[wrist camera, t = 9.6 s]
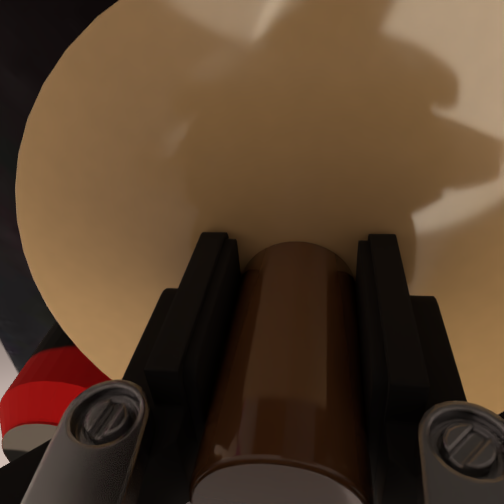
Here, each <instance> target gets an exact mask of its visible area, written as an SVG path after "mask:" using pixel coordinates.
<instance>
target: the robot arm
mask: <svg viewBox="0 0 504 504" xmlns="http://www.w3.org/2000/svg"><path fill="white" fill-rule="evenodd" d="M240 280H241V273H240V263H239V254H238V245H237V240H236V239H229V236H228V234H227V232H202V233H201V235H200V237H199V240H198V242H197V244H196V247H195V249H194V251H193V254H192V256H191V258H190V261H189V263H188V266H187V268H186V270H185V273H184V275H183V277H182V280H181V282H180V284H179V287H178V288H166V289H165V290H163V292H162V294H161V295H160V298H159V300H158V302H157V304H156V306H155V308H154V311H153V313H152V315H151V317H150V319H149V321H148V324H147V326H146V328H145V330H144V332H143V334H142V337H141V339H140V341H139V343H138V345H137V347H136V350H135V352H134V354H133V356H132V358H131V360H130V363H129V365H128V367H127V369H126V371H125V373H124V375H123V378H122V380H120V379H117V380H109V381H104V382H101V383H98V384H96V385H93V386H91V387H90V388H88V389H86V390H85V391H83V392H81V393H80V394H79V395H78V396H77V397H76V398H75V399H74V400H73V401H72V402H71V403H70V404H69V406H68V407H67V409H66V410H65V412H64V413H63V416H62V418H61V420H60V422H59V424H58V426H57V428H56V430H55V432H54V434H53V436H52V439H50V440H48V441H46V442H45V443H43V444H41V445H39V446H38V447H36V448H34V449H33V450H31V451H29V452H27V453H26V454H24V455H22V456H20V457H19V458H17V459H15V460H14V461H12V462H10V463H8V464H7V465H5V466H3V467H2V468H0V504H186V503H187V502H189V501H190V499H189V493H188V490H189V483H190V479H191V475H192V471H193V467H194V463H195V459H196V455H197V451H198V447H199V443H200V439H201V436H202V432H203V428H204V424H205V420H206V416H207V412H208V408H209V404H210V400H211V396H212V392H213V388H214V384H215V380H216V376H217V372H218V368H219V364H220V360H221V356H222V352H223V348H224V344H225V340H226V336H227V332H228V328H229V324H230V320H231V316H232V312H233V308H234V304H235V300H236V296H237V292H238V288H239V284H240ZM355 284H356V297H357V309H358V322H359V334H360V347H361V359H362V372H363V384H364V397H365V409H366V422H367V434H368V439H369V449H370V461H371V474H372V486H373V498H374V504H504V419H502V418H501V417H500V416H498V415H497V414H496V413H494V412H493V411H491V410H489V409H486V408H484V407H482V406H480V405H478V404H474V403H469V402H467V399H466V396H465V392H464V389H463V386H462V382H461V379H460V376H459V372H458V369H457V366H456V362H455V359H454V355H453V352H452V349H451V345H450V342H449V339H448V335H447V332H446V329H445V325H444V322H443V319H442V315H441V312H440V308H439V305H438V302H437V300H436V298H435V297H434V296H415V295H410V294H409V290H408V285H407V281H406V276H405V272H404V268H403V263H402V259H401V254H400V250H399V245H398V241H397V237H396V235H395V234H369V235H368V240H359V241H358V251H357V265H356V280H355Z"/></svg>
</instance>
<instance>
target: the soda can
mask: <svg viewBox="0 0 504 504" xmlns="http://www.w3.org/2000/svg"><path fill="white" fill-rule="evenodd" d="M109 380H111V379H110V378H109V377H108V376H107V375H105V374H104V373H103V372H102V371H100V370H99V369H98V368H97V367H96V366H95V365H94V364H93V363H92V362H91V361H90V360H89V359H88V358H87V357H86V356H85V355H84V354H83V353H82V352H81V351H80V350H79V349H78V347H77V346H76V345H75V344H74V343H73V341H72V340H71V339H70V338H69V337H68V335H67V334H66V333H65V332H64V331H63V329H62V328H61V326H60V325H59V323H58V322H57V320H56V322H55V323H54V324H53V326H52V327H51V329H50V330H49V332H48V333H47V334H46V336H45V337H44V339H43V340H42V342H41V343H40V344H39V346H38V347H37V349H36V350H35V352H34V353H33V354H32V356H31V357H30V359H29V360H28V362H27V363H26V364H25V366H24V367H23V369H22V370H21V372H20V373H19V374H18V376H17V377H16V379H15V380H14V381H13V383H12V384H11V386H10V387H9V389H8V390H7V391H6V393H5V395H4V396H3V397H2V399H1V402H0V423H1V431H2V438H3V439H2V449H3V452H4V454H5V456H6V457H7V459H8V460H9V462H12V461H14V460H15V459H17V458H19V457H20V456H22V455H24V454H26V453H27V452H29V451H31V450H33V449H34V448H36V447H38V446H39V445H41V444H43V443H45V442H46V441H48V440H50V439H52V436H53V434H54V432H55V430H56V428H57V426H58V424H59V422H60V420H61V418H62V416H63V413H64V412H65V410H66V409H67V407H68V406H69V404H70V403H71V402H72V401H73V400H74V399H75V398H76V397H77V396H78V395H79V394H80V393H81V392H83V391H85V390H86V389H88V388H90V387H91V386H93V385H96V384H98V383H101V382H104V381H109Z"/></svg>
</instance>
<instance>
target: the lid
mask: <svg viewBox="0 0 504 504" xmlns="http://www.w3.org/2000/svg"><path fill="white" fill-rule="evenodd" d="M15 194H16V211H17V223H18V227H19V232H20V237H21V242H22V247H23V251H24V254H25V257H26V260H27V262H28V265H29V268H30V271H31V274H32V277H33V279H34V281H35V283H36V285H37V287H38V289H39V291H40V293H41V295H42V297H43V299H44V301H45V303H46V305H47V307H48V308H49V310H50V311H51V313H52V314H53V316H54V317H55V319H56V320H57V322H58V323H59V325H60V326H61V328H62V329H63V331H64V332H65V333H66V334H67V335H68V337H69V338H70V339H71V340H72V341H73V343H74V344H75V345H76V346H77V347H78V349H79V350H80V351H81V352H82V353H83V354H84V355H85V356H86V357H87V358H88V359H89V360H90V361H91V362H92V363H93V364H94V365H95V366H96V367H97V368H98V369H99V370H100V371H102V372H103V373H104V374H105V375H107V376H108V377H109V378H110V379H111V380H117V379H120V380H122V378H123V375H124V373H125V371H126V369H127V367H128V365H129V363H130V360H131V358H132V356H133V354H134V352H135V350H136V347H137V345H138V343H139V341H140V339H141V337H142V334H143V332H144V330H145V328H146V326H147V324H148V321H149V319H150V317H151V315H152V313H153V311H154V308H155V306H156V304H157V302H158V300H159V298H160V295H161V294H162V292H163V290H165V289H166V288H178V287H179V284H180V282H181V280H182V277H183V275H184V273H185V270H186V268H187V266H188V263H189V261H190V258H191V256H192V254H193V251H194V249H195V247H196V244H197V242H198V240H199V237H200V235H201V233H202V232H227V234H228V236H229V239H236V240H237V245H238V254H239V263H240V273H241V280H240V284H239V288H238V292H237V296H236V300H235V304H234V308H233V312H232V316H231V320H230V324H229V328H228V332H227V336H226V340H225V344H224V348H223V352H222V356H221V360H220V364H219V368H218V372H217V376H216V380H215V384H214V388H213V392H212V396H211V400H210V404H209V408H208V412H207V416H206V420H205V424H204V428H203V432H202V436H201V439H200V443H199V447H198V451H197V455H196V459H195V463H194V467H193V471H192V475H191V479H190V483H189V490H188V493H189V499H190V504H374V498H373V486H372V474H371V461H370V449H369V439H368V434H367V422H366V409H365V397H364V384H363V372H362V359H361V347H360V334H359V322H358V309H357V297H356V284H355V280H356V265H357V251H358V241H359V240H368V235H369V234H395V235H396V237H397V241H398V245H399V250H400V254H401V259H402V263H403V268H404V272H405V276H406V281H407V285H408V290H409V294H410V295H415V296H434V297H435V298H436V300H437V302H438V305H439V308H440V312H441V315H442V319H443V322H444V325H445V329H446V332H447V335H448V339H449V342H450V345H451V349H452V352H453V355H454V359H455V362H456V366H457V369H458V372H459V376H460V379H461V382H462V386H463V389H464V392H465V396H466V399H467V402H469V403H474V404H478V405H480V406H482V407H484V408H486V409H489V410H491V411H493V412H494V413H496V414H497V415H498V414H500V413H502V412H504V0H118V1H117V2H115V3H114V4H113V5H111V6H110V7H109V8H107V9H106V10H105V11H103V12H102V13H101V14H99V15H98V16H97V17H96V18H95V19H94V20H93V21H92V22H91V23H90V24H89V25H88V26H87V28H86V29H85V30H84V31H83V32H82V33H81V34H80V35H79V36H78V37H77V38H76V39H75V40H74V41H73V42H72V43H71V44H70V46H69V47H68V48H67V49H66V50H65V52H64V53H63V55H62V56H61V58H60V59H59V61H58V62H57V64H56V65H55V67H54V68H53V70H52V71H51V73H50V74H49V76H48V77H47V79H46V80H45V82H44V83H43V85H42V88H41V90H40V92H39V94H38V97H37V99H36V101H35V103H34V106H33V108H32V110H31V112H30V114H29V117H28V120H27V123H26V127H25V131H24V135H23V139H22V142H21V146H20V150H19V154H18V164H17V174H16V185H15Z"/></svg>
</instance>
